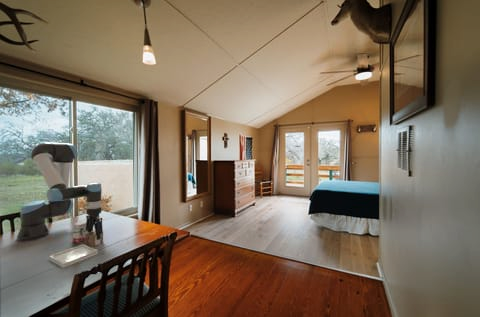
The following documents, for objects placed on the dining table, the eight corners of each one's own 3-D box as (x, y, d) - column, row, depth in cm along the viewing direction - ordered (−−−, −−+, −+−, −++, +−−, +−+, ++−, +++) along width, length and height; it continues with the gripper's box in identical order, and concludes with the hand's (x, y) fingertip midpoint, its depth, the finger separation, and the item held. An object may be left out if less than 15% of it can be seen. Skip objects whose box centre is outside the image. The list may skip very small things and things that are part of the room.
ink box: (78, 243, 126) (78, 224, 126) (72, 242, 127) (72, 224, 127) (91, 237, 135) (91, 220, 135) (85, 236, 136) (85, 219, 136)
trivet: (48, 259, 107) (48, 256, 107) (83, 247, 121) (83, 244, 121) (63, 267, 99) (63, 264, 99) (98, 253, 114) (98, 250, 114)
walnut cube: (84, 244, 125) (84, 233, 125) (97, 240, 131) (97, 229, 131) (90, 247, 122) (90, 236, 121) (103, 242, 128) (103, 232, 128)
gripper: (78, 206, 127) (78, 242, 127) (96, 211, 118) (96, 249, 118) (92, 204, 134) (92, 237, 134) (109, 208, 125) (109, 244, 125)
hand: (94, 243), depth 126 cm, fingers open, 7 cm apart
